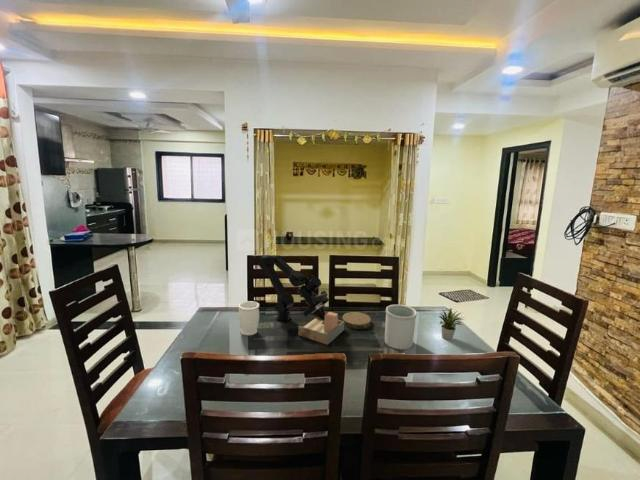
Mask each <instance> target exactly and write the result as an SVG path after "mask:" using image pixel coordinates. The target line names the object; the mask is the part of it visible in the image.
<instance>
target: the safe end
mask: <svg viewBox="0 0 640 480" xmlns="http://www.w3.org/2000/svg"><path fill="white" fill-rule="evenodd" d="M344 330H345V325H344V321H342V320H340V319H338V321H337V327H336V328H334V329H333V330H332V331H331V332H330V333H328V332H324V330H323V331H322V332H318V331H316V341H315V342H318V343H321V344H324V345H327V346H329V344H330V343H331V342H332V341H334V340H335V339H336V338H338V336H339V335H340V334H341V333H343V331H344Z"/></svg>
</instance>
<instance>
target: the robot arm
mask: <svg viewBox="0 0 640 480" xmlns="http://www.w3.org/2000/svg"><path fill="white" fill-rule="evenodd" d="M257 264H258V266H259V268H260V269H261V270H262V271H263V272H265V274H266V275H267V277H268V279H269V281H270V283H271V284H272V285H271V286H272V287H273V289H274V291H275V293H276V295H277V300H276V301H277V304H276V305H275V306H274V309H275V311H276V312H277V314H276V315H277V317H276V318H275V320H276V321H279V322H281V323H282V322H283V323H287V322H288V321H289V320H291V319H292V317H291V310H290V309H291V308H292V307H293V306H294V304H295V300H294V299H295V298H294V296H293V295H292V292H291V291H289V292H288V291H286V289H285V287H284V285H283V283H282V281H281V279H280V278H279V275H278V273H277V270H275V266H276V267H277V268H278V269H279V270H280V271H281V272H282V273H283V274H284V275H286V276H287V278H288V281H289V282H290V284H291V285H292V286H293V287H295V288H296V290H295V291H296V292H295V293H296V294H299V293H300V295H301V296H302V298H303V299H304V301H303V302H304V303H306V304H307V305H308V306H309V307H307V308H306V309H305V310H304V311H303V312H302V316H303V317H304V318H306V317H308V316H309V315H310V314H311V315H313V316H315V317H316V316H317V317H319V318H321V319H322V320H324V318H325V314H326V312H325V306H326V304H328V302H330V299H329V297H328V296H329V294H328V293H327V292H326V290H323V291H321V292H320V294H318V293H316V292H315V291H316V290H317V289H318V288H319V287H320V286H321V285H322V280H321V279H320V278H319V277H317V276H315V275H314V274H311V275H310V276H309V277H308V276H306V275H304V274H303V273H302V272H300V271H297V270H295V269H294V268H293V267H292V266H290V265H289V264H288V263H287V262H286V261H285V260H283V258H282V257H281V256H280V255H273V256H271V255H263V256H260V257H259V258H258V259H257Z"/></svg>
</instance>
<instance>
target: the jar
mask: <svg viewBox="0 0 640 480" xmlns="http://www.w3.org/2000/svg"><path fill="white" fill-rule="evenodd" d="M259 308H260V303H259V302H257V301H252V300H248V301H243V302H242V301H241V302H240V303H239V304H238V314H237V315H238V316H237V317H238V323H239V327H240V333H241V334H242V335H243V336H254V335H255V334H257V333H258V329H257V328H258V327H259V321H260V309H259Z"/></svg>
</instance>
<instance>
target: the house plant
mask: <svg viewBox="0 0 640 480" xmlns="http://www.w3.org/2000/svg"><path fill="white" fill-rule="evenodd" d="M448 309H449V310H448V314H447V313H446V311H445V310H444V309H442V311H440V312H439V315H438V317H439V318H440V319H441V320H440V321H439V325H440V324H441V338H442V339H443V340H445V341H452V340H453V338H454V336H455V332H456V328H457V327H456V325H461V326H462V321H465V316H464V317H463V316H462V317H461V316H459V315H461V314H462V312H459V313H457V312H458V310H455V312H454V313H453V311H452V309H453V308H448ZM456 313H457V314H456ZM460 320H462V321H460Z"/></svg>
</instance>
